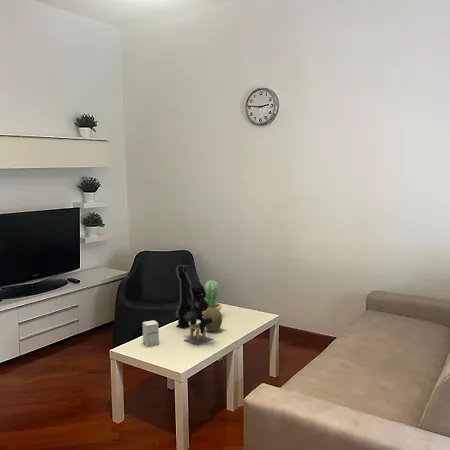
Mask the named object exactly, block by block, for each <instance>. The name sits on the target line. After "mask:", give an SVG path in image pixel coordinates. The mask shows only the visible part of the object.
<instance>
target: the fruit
mask: <svg viewBox="0 0 450 450" xmlns="http://www.w3.org/2000/svg"><path fill="white" fill-rule="evenodd" d="M222 316H223V315H222V313H221V310H220V311H219V310H218V309H217V308H216V307H210V308H208V309H207V310H206V312H205V315H204V316H203V318H204V317H210V318H212V323H209V324H207V325H206V326H205V330H207V331H209V332H217V331H218V330H219V329H221V326H222V324H223V317H222Z"/></svg>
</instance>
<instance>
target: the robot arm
mask: <svg viewBox="0 0 450 450" xmlns="http://www.w3.org/2000/svg"><path fill="white" fill-rule="evenodd" d="M175 273H176V276H177V277H178V279H179V303H178V304H177V309H176V310H175V317H176V319H177V321H178V322H177V323H178V324H177V325H176V327H177V328H181V329H185V328H188V327H189V328H190V326H192V325H194V324H197V321H200V322H199V323H198V324H199V325H200V330H199V334H200V335H202V333H203V331H204V328H205V329H206V327H205V326H206V325H207V324H209V323H212V318H210V317H204V314H202V311H205V310H207V308H208V303H207V302H206V301H205V300H206V292H205V289H204V285H203V284H202V283H201V282H200V281H198V279H197V277H196V276H195V272H194V271H193V267H192V265H190V264H189V265H188V264H181V265H177V266H176V267H175ZM188 283H189V286H190V287H189V293H190V296H191V305H190V303H189V301H188ZM193 332H196V330H195V329H193Z"/></svg>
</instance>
